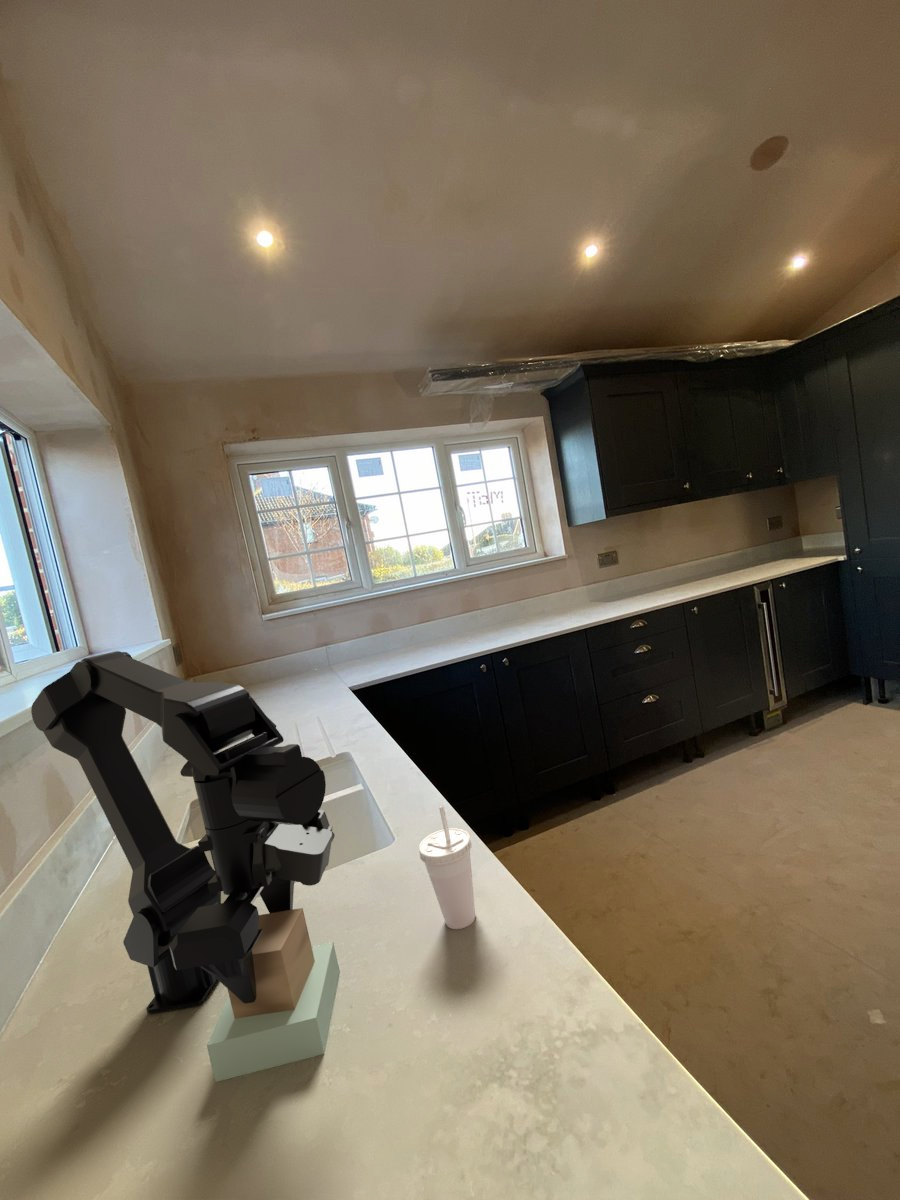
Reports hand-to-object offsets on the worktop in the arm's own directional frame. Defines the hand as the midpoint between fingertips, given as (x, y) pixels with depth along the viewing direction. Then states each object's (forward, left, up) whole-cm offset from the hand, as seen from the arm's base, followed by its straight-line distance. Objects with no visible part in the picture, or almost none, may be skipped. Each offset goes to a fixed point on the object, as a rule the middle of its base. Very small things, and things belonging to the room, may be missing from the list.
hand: (270, 963), depth 52 cm
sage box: (0, 0, -7) cm, 7 cm away
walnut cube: (0, 0, -3) cm, 3 cm away
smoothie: (+18, +11, -6) cm, 22 cm away
